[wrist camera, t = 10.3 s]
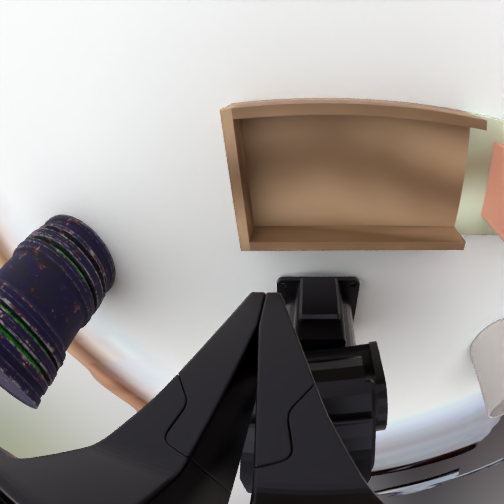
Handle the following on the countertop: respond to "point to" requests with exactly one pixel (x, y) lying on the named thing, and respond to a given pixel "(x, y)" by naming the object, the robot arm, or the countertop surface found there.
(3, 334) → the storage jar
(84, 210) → the countertop surface
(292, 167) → the wooden tray
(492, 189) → the block
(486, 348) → the cup
